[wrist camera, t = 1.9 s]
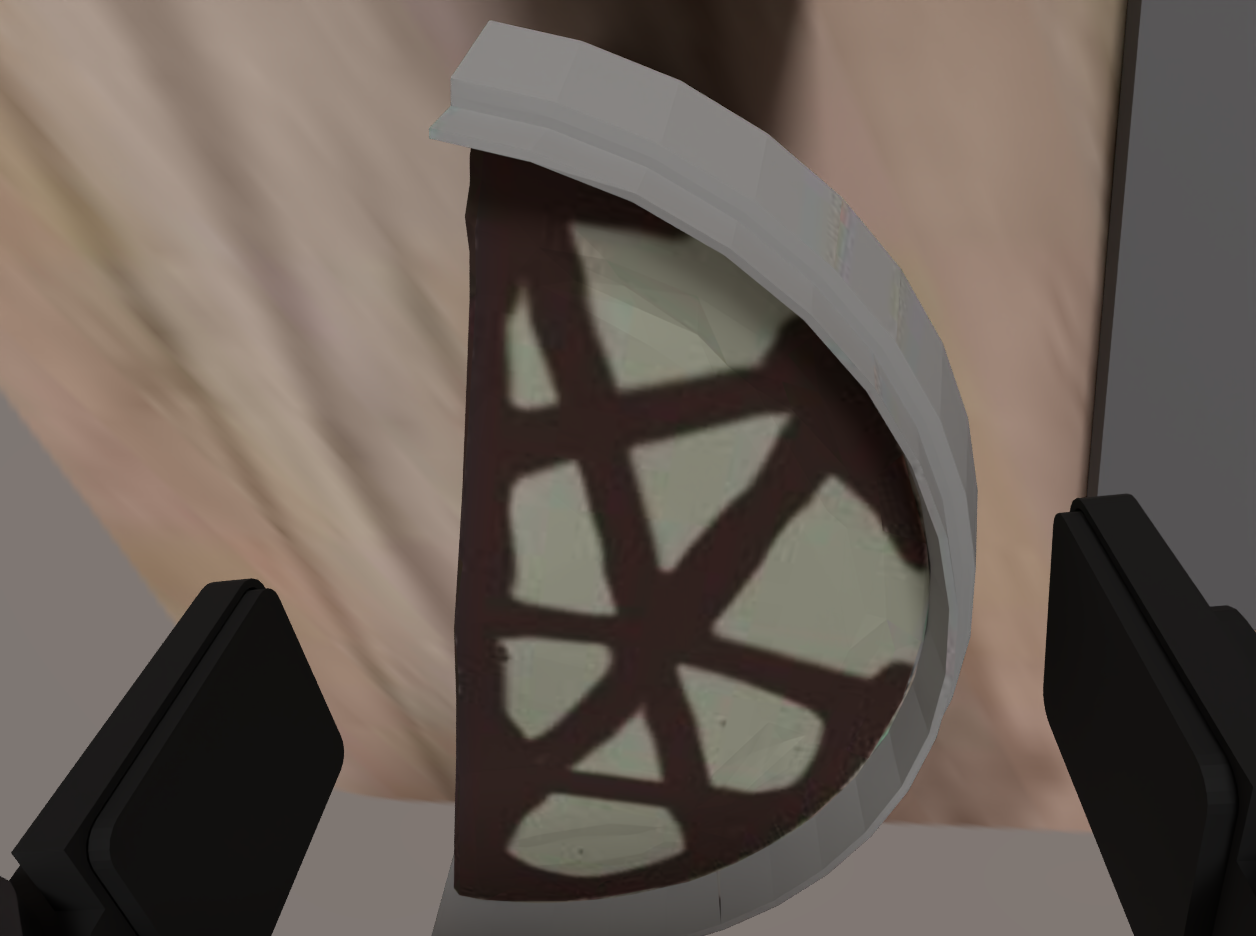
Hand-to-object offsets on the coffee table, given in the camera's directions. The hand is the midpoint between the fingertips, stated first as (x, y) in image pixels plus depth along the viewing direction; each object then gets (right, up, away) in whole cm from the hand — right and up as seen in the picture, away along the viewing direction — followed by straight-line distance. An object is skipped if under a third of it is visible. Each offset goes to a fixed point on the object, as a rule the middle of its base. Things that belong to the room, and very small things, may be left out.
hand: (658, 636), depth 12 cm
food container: (+1, +5, +7) cm, 9 cm away
